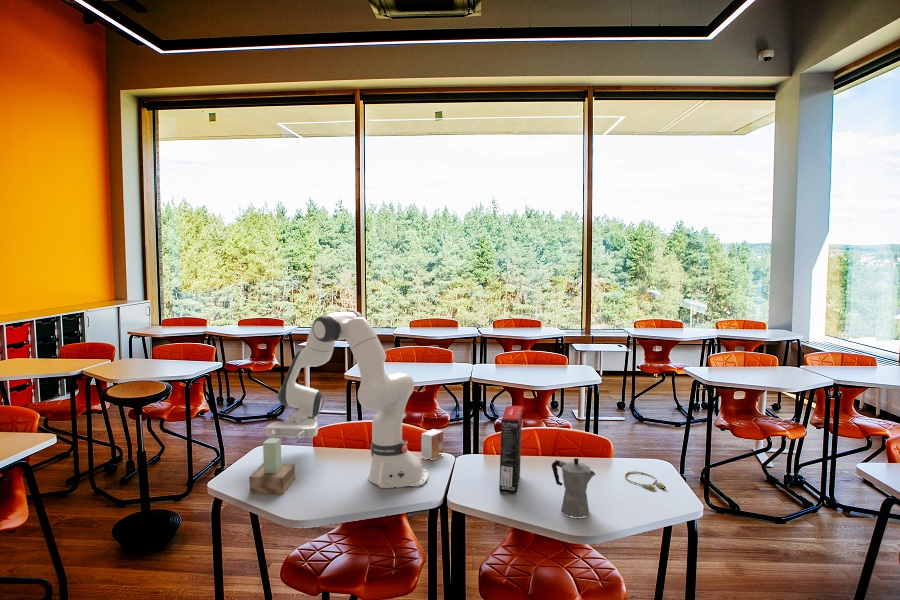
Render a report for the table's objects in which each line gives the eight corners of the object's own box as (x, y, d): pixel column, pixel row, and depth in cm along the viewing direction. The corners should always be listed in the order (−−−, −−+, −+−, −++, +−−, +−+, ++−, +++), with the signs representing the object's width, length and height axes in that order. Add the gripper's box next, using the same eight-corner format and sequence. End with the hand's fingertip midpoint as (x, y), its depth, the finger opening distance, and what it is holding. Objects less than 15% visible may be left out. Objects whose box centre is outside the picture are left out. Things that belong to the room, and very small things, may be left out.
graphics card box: (503, 474, 206) (504, 404, 203) (521, 475, 205) (522, 405, 202) (498, 494, 189) (499, 418, 187) (518, 495, 188) (519, 419, 185)
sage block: (281, 467, 196) (280, 438, 196) (276, 473, 192) (275, 443, 191) (269, 467, 197) (268, 438, 196) (263, 472, 192) (263, 442, 191)
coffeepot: (600, 512, 175) (601, 459, 174) (587, 523, 168) (588, 468, 167) (558, 498, 185) (559, 448, 184) (544, 508, 178) (545, 456, 177)
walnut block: (295, 479, 200) (294, 464, 200) (283, 494, 188) (282, 477, 188) (263, 479, 201) (263, 463, 200) (249, 493, 189) (249, 476, 188)
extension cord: (632, 491, 192) (632, 486, 192) (620, 473, 208) (621, 468, 208) (667, 492, 192) (667, 487, 192) (652, 474, 207) (653, 469, 207)
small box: (431, 461, 219) (431, 436, 218) (421, 458, 222) (420, 433, 221) (443, 455, 225) (443, 431, 224) (433, 452, 228) (433, 428, 227)
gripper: (272, 416, 220) (258, 427, 207) (321, 418, 219) (310, 429, 206) (272, 431, 221) (258, 443, 207) (321, 433, 220) (311, 445, 206)
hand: (285, 436), depth 206 cm, fingers open, 8 cm apart
